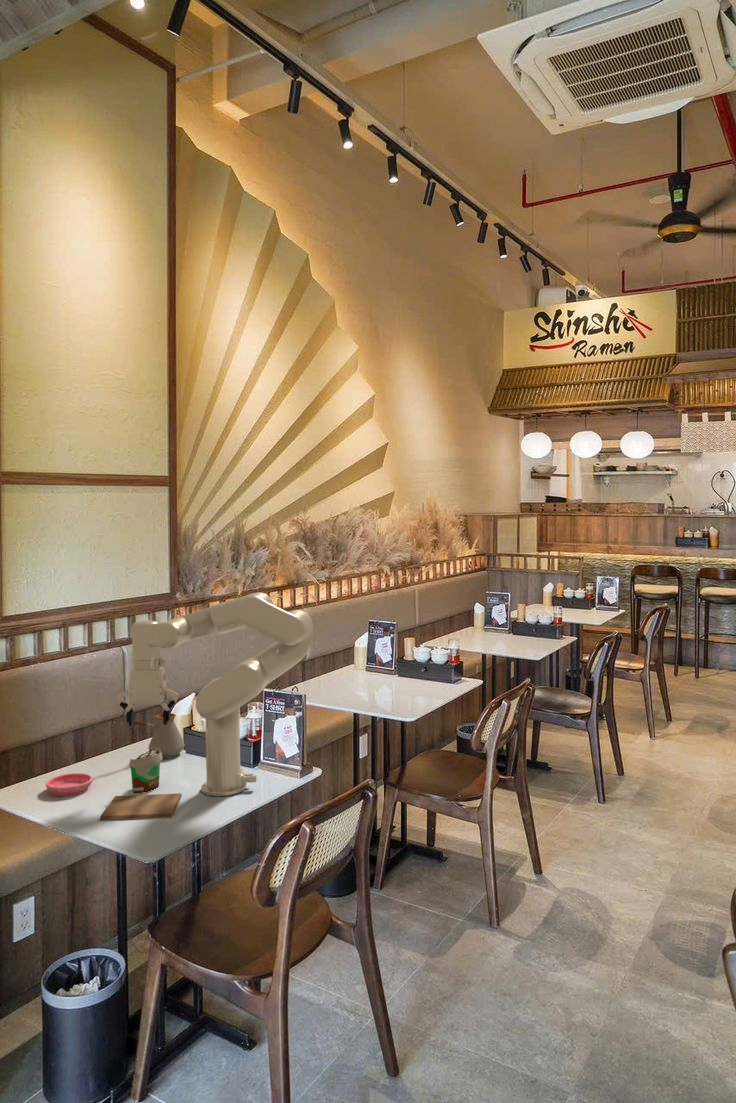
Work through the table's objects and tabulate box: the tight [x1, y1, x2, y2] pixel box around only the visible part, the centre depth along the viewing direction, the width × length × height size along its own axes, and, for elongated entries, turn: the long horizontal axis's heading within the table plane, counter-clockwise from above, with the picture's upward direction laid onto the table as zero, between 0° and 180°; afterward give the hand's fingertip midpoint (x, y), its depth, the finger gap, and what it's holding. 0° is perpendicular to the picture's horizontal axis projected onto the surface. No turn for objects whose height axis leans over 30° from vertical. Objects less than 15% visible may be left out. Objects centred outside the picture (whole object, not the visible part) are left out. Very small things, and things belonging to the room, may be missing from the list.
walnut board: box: [100, 792, 182, 821], centre depth 201 cm, size 18×14×1 cm
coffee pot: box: [120, 712, 186, 759], centre depth 242 cm, size 21×12×15 cm, turn 138°
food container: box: [128, 747, 164, 794], centre depth 216 cm, size 12×6×10 cm, turn 168°
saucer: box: [45, 772, 94, 797], centre depth 215 cm, size 12×12×3 cm
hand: (148, 724), depth 215 cm, fingers open, 9 cm apart
